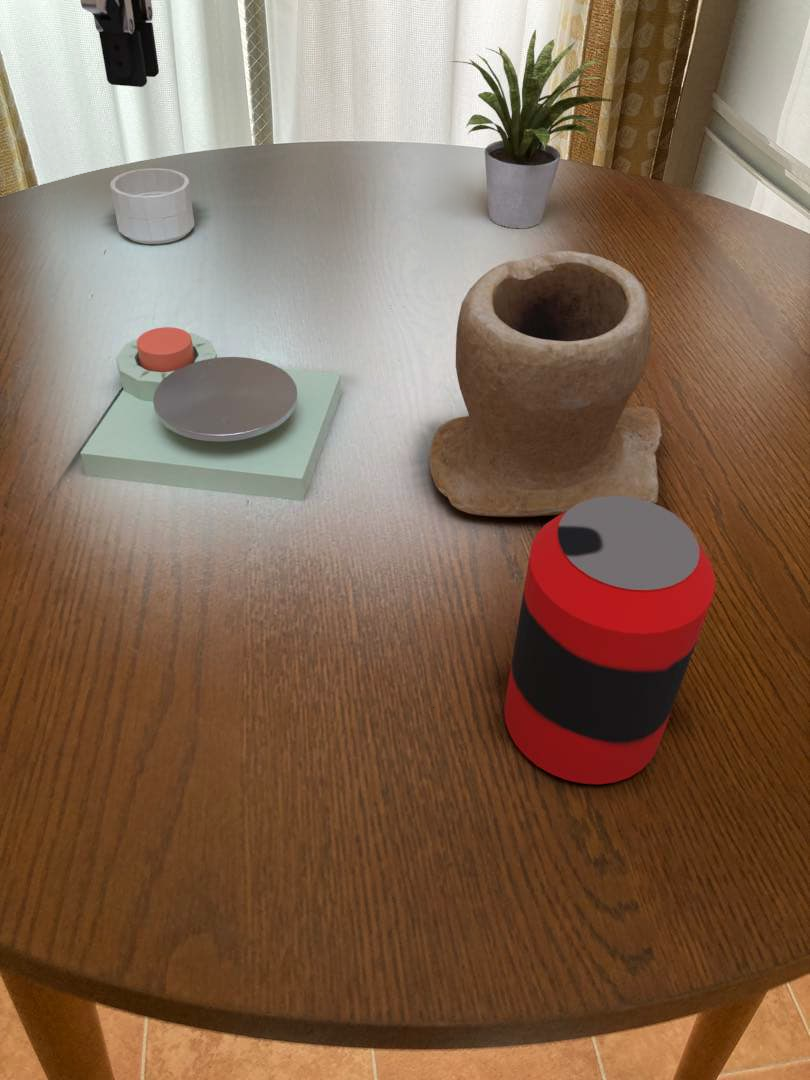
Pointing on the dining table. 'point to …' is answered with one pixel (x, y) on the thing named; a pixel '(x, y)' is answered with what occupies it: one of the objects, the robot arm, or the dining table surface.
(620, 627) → the soda can
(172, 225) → the bowl
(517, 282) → the stone cup
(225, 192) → the dining table surface
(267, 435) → the scale
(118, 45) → the robot arm
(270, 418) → the plate
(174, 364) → the tare button
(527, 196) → the house plant
